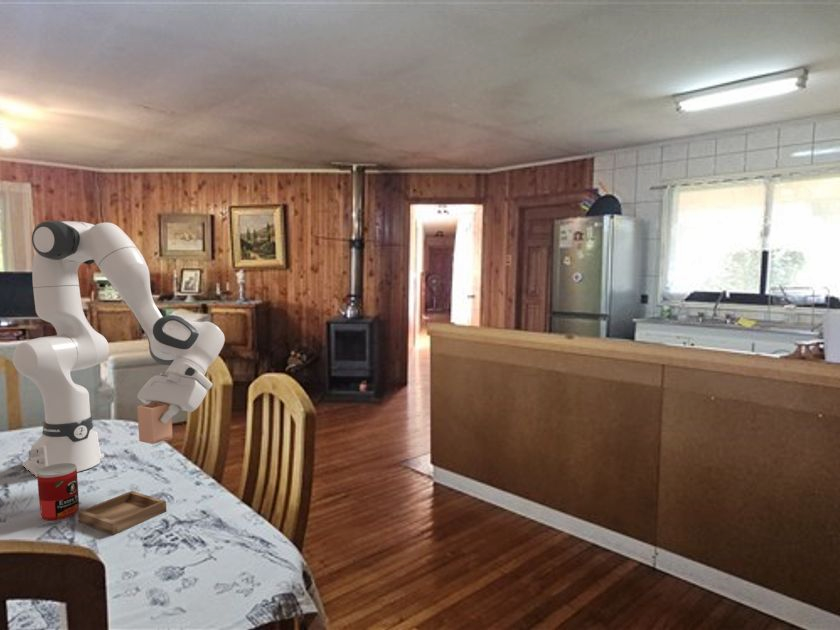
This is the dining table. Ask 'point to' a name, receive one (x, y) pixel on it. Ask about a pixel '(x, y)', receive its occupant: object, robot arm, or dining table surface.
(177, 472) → the dining table surface
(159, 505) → the tray
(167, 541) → the dining table surface
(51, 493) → the canned food
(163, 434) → the open rectangular container
